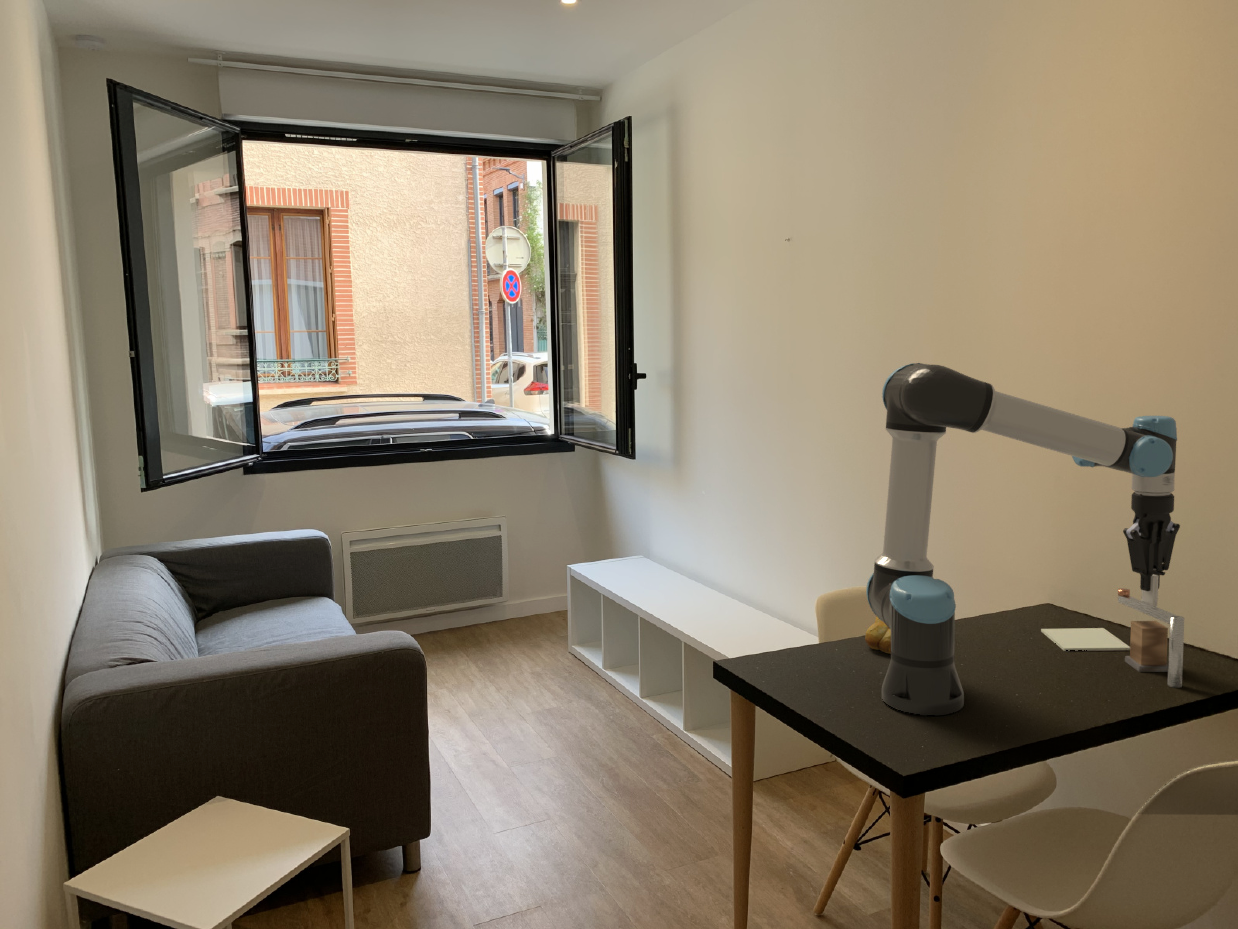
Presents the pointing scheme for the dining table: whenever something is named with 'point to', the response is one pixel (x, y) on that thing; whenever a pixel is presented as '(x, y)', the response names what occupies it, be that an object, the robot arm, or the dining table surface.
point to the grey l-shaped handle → (1174, 633)
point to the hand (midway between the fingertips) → (1149, 605)
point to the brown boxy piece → (1148, 647)
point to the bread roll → (879, 636)
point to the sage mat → (1085, 639)
